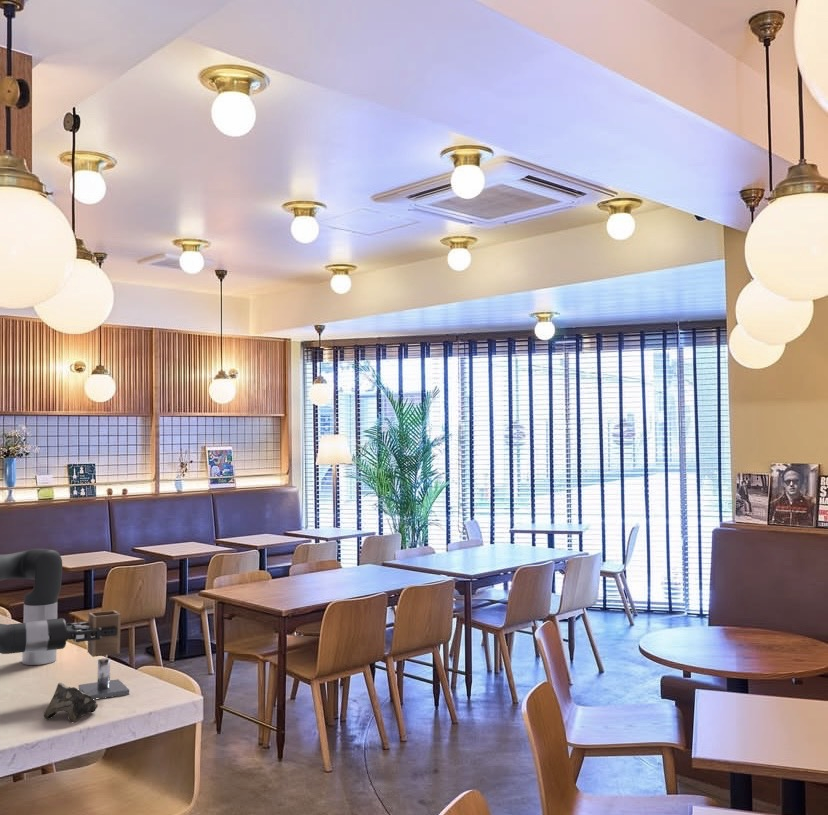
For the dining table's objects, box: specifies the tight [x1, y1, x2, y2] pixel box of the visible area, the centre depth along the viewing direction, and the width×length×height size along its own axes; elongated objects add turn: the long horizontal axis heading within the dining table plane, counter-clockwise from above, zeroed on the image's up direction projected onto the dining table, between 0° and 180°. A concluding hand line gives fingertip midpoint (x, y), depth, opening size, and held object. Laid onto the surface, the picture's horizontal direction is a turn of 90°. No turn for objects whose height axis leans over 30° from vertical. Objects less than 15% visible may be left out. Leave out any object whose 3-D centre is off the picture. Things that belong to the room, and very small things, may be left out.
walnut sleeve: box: [87, 610, 122, 658], centre depth 212 cm, size 7×7×10 cm
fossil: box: [43, 682, 99, 723], centre depth 191 cm, size 11×9×10 cm
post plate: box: [78, 657, 130, 699], centre depth 212 cm, size 12×10×8 cm
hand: (113, 628), depth 213 cm, fingers closed on walnut sleeve, 6 cm apart
